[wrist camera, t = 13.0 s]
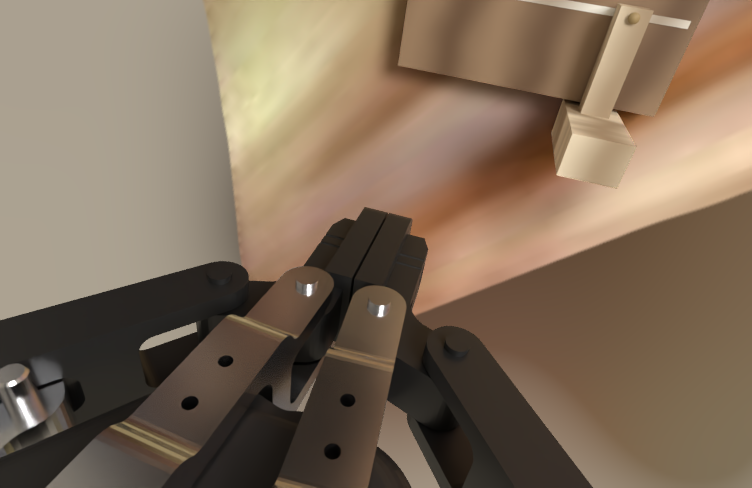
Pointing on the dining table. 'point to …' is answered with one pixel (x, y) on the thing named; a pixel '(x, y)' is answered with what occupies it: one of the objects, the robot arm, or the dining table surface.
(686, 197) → the dining table surface
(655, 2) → the board
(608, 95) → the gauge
